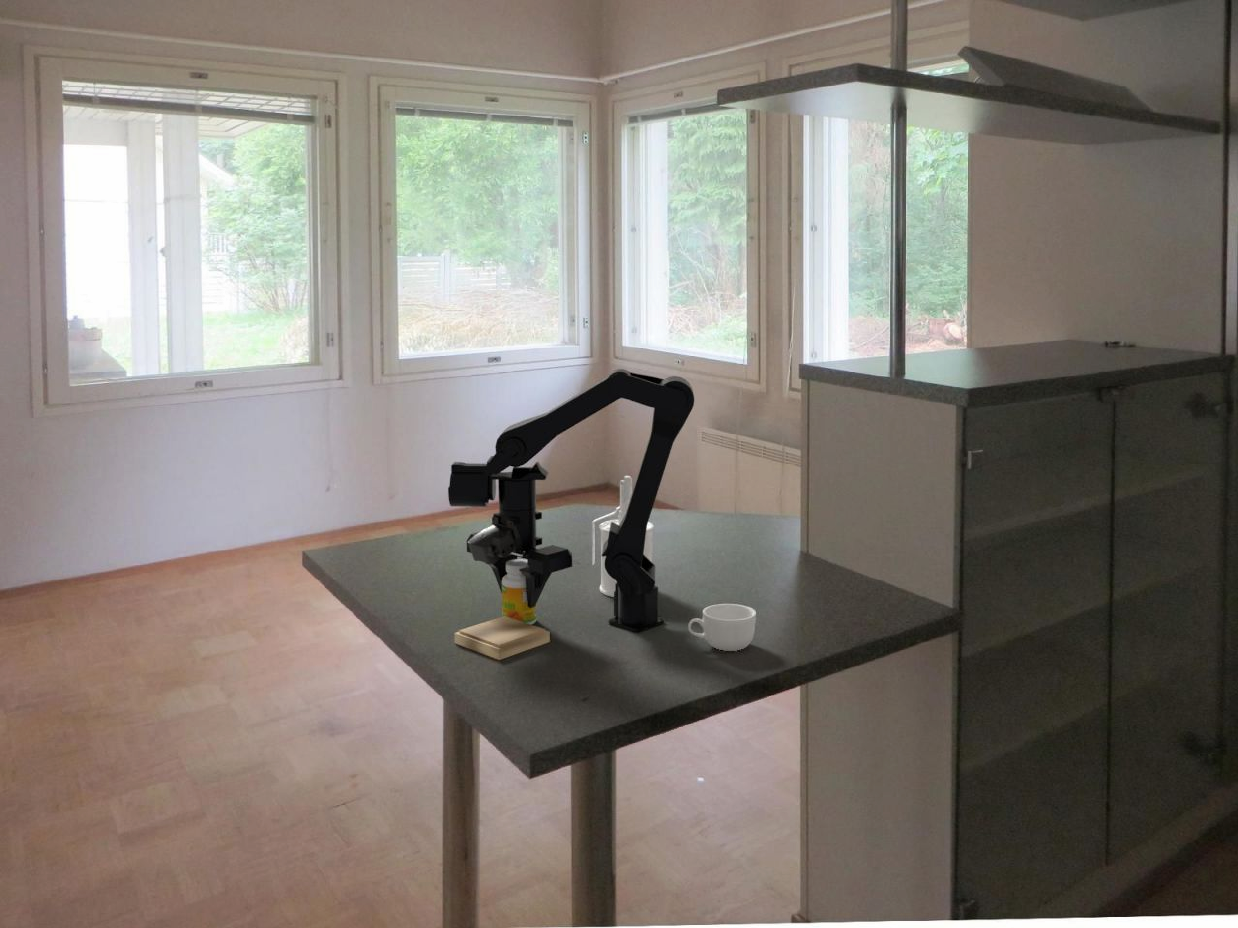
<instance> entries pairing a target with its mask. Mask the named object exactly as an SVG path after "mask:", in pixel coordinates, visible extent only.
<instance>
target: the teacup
mask: <svg viewBox="0 0 1238 928" xmlns="http://www.w3.org/2000/svg"><path fill="white" fill-rule="evenodd" d="M756 618H757V611H756V610H755V609H754V608H752V607H750V606H746V605H743V604H735V603H719V604H713V605H709V606H706V607H705V608H703V610H702V618H697V617H696V618H692V619H691V620H689V622H688V625H687V629H688V632H689V633H690V634H691V635H693V636H695V637H697V638H700V639H704V640H706V642H707V643H709V646H711V647H712V648H714V649H715V648H716V649H715V650H717V649H719V650H718V651H720V650H724V651H723V652H725V651H735V652H738V651H737V650H740V651H742V650H743V649H745V648H747V647H748V646H749V645H750V643H752V640H753V638H754V635H755V629H756ZM696 622H697V623H698V624H699V625H700V626H701V627H702V629H703V632H702V633H699V632H694V630H692V624H694V623H696ZM741 649H742V650H741Z"/></svg>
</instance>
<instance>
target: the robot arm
mask: <svg viewBox="0 0 1238 928" xmlns="http://www.w3.org/2000/svg"><path fill="white" fill-rule="evenodd" d="M620 399H624V400H628V401H631V402H634V403H635V404H636V403H637V404H640V405H642V406H646V407H649V408H652V409H653V412H652V413H653V415H652V421H651V422H652V424H651V431H650V435H649V439H648V440H647V444H646V448H645V451H644V453H643V457H642V461H641V463H640V467H639V469H638V474H637V477H636V480H635V482H634V484H633V485H634V486H633V488H632V495H631V498H630V501H629V504H628V508H627V511H626V514H625V516H624V518H623V519H622V521H621V523H620V524H619V525H617V524H615V523H613V522H611V525H610V530H609V537H608V539H607V541H606V542H605V543H604V546H603V551H602V556H603V557H604V556H606V557H605V564H604V565H605V569H606V571H607V573H608V575H610V576H611V577H612V578H613V579H615V580H616V581H617V583H615V591H614V597H613V616H614V617H612V618H609V619H608V624H611V625H614V626H616V627H621V628H624V629H627V630H631V631H632V632H638V633H639V632H643V631H645V630H648V629H650V628H653V627H656V626H658V625H661V624H664V623H665V618H663V617H660V616H659V586H656V565H655V563H653V561H652V562H651V561H650V560H649V559H648V558H647V557H646V556H645V555H644V554H643V553H644V545H645V537H646V528H647V524H648V522H650V517H651V513H652V510H653V508H654V504H655V501H656V498H657V495H658V492H659V489H660V486H661V483H662V479H663V476H664V473H665V470H666V467H667V463H668V460H669V457H670V454H671V450H672V449H673V448H672V447H673V445H674V442H675V440H676V439H677V437H678V435H679V434H680V432H681V430H682V428H683V427H684V426H685V424H686V421H687V420H688V418H689V416H690V414H691V412H692V410H693V408H694V405H695V395H694V390H693V387H692V385H691V383H690V382H689V381H688V380H687V379H685V378H683V377H681V376H677V375H672V376H668V377H666V378H661V377H657V376H652V375H647V374H641V373H636V372H631V371H628V370H626V369H623V368H617V369H615V370H613V371H611V372H610V374H608V376H606V377H604V378H603V379H601V380H599V381H598V382H595V383H594V384H592V385H590V386H589V387H588V388H587V387H586V389H584V390H582V391H580V392H578V393H577V394H576V395H574V396H572V397H571V398H568V400H566V401H564V402H562V403H561V404H559V405H557V406H555V407H553V408H552V409H550V410H549V411H547V412H545V413H542V414H539V415H536V416H533V417H532V416H531V417H529V418H526V419H524V420H521V421H519V422H516V423H513V424H511V425H509V426H508V427H507V428H505V429H504V430H503V431H502V432H501V434H500V435H499V436H498V438H497V439H496V443H495V447H494V448H495V453H494V455H492V456H490V457H489V458H488V460H487V461H486V463H469V462H468V463H466V462H463V461H462V462H461V461H454V462H453V463H452V464H451V465H450V472H451V473H450V475H449V476H450V477H449V485H448V487H447V495H448V496H447V497H448V503H449V506H450V507H467V508H468V507H470V508H471V507H474V508H475V507H478V508H479V507H480V508H481V507H482V508H486V507H488V506H489V503H490V501H495V500H496V496H497V495H496V493H497V484H498V512H495V513H493V515H492V517H491V526H488V527H486V528H484V529H483V530H481V531H478V532H473V533H470V535H469V536H468V538H467V539H466V552H467V553H470V554H471V555H472V558H473V560H474V561H475V562H478V561H479V562H483V563H484V564H485V565H488V566H489V567H490V568H491V570H492V572H493V574H494V577H495V579H496V580H495V581H496V582H497V585H498V587H499V590H500V593H501V594H502V578H503V577H504V576H505V575H507V572H506V562H507V561H509V560H514V559H518V557H519V558H520V559H525V560H527V565H528V567H525V568H522V569H519V571H520V572H521V573H522V574H523V575H524V576H525V578H526V591H527V602H528V607H529V608H533V607H535V605H536V606H537V603H538V601H539V599H540V597H541V595H542V592H543V590H544V588H545V586H546V584H547V582H548V580H549V579H550V576H552V573H555V572H558V571H559V572H560V571H562V570H566V569H570V568H572V567H573V553H572V552H571V551H570V550H569V549H568V548H564V547H561V546H558V545H553V544H552V545H549V546H545V547H541V548H537V546H540V545H543V538H542V537H540V536H537V521H538V520H542V519H543V518H542V517H543V512H542V511H538V510H537V497H536V496H537V490H536V489H537V488H536V485H537V484H536V481H545V480H546V479H547V477H548V475H549V471H548V470H546V469H545V468H544V467H542V466H541V464H540V462H539V461H535V463H534V464H533V465H532V466H529V467H528V466H525V465H526V464H527V463H528V462H529V461H530V460H532V459H533V458H534V457H535V456H537V455H538V454H539V453H540V452H541V451H542V450H543V449H544V448H546V446H548V444H550V442H552V441H553V440H554V439H555V438H556V437H557V436H559V435H561V434H563V433H564V432H566V431H568V430H570V429H571V428H573V427H574V426H576V425H577V424H579V423H581V422H583V421H584V420H586V419H588V418H589V417H591V416H592V415H595V414H596V413H598V412H600V411H601V410H603V409H604V408H606V407H608V406H610V405H611V404H613V403H615V402H616V401H618V400H620ZM509 467H512V471H506V472H503V471H505V470H506V469H507V468H509ZM497 480H498V481H497ZM497 482H498V483H497Z"/></svg>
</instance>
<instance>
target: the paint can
mask: <svg viewBox="0 0 1238 928" xmlns="http://www.w3.org/2000/svg"><path fill="white" fill-rule="evenodd" d="M632 492H633V478H632V477H631V476H630V475H624V476H623V479H621V480H620V481H619V506H618V507H616V508H615V511H613V512H611V513H608V514H605V515H603V516H600V517H599V518H598V517H597V518H595V519H594V520H593V521H592V522H591V546H592V547H591V554H592V555H591V558H592V559H591V562H592V566H594V564H595V561H596V560H595V556H596V555H595V550H596V549H595V544H596V543H595V538H596V537H595V535H596V534H595V533H596V532H595V524H596V523H597V522H599V521H602V520H604V519H607V518H609V517H612V516H615V515H616V514H618V515H617V518H616V519H610V520H607V521H604V522H602V523H600V524H599V525H598V526H599V530H600V556H601V557H600V565H601V566H600V580H601V581H600V585H599V591H600V593H601V594H603V595H605V596H607V597H611V598H614V591H615V583H617V581H616V580H615V579H613V578H612V577H611V576H610V575H608V573H607V571H606V569H605V565H604V564H605V557H606V556H604V557H603V556H602V551H603V546H604V543H605V542H606V541H607V539H608V537H609V530H610V525H611V522H613V523H615V524H617V525H619V524H620V523H621V521H622V519H623V518H624V516H625V514H626V511H627V508H628V504H629V501H630V498H631V495H632ZM618 510H619V511H618ZM654 529H655V526H654V524H653V523H652V522H650V521H648V524H647V528H646V537H645V545H644V553H643V554H644V555H645V556H646V557H647V558H648V559H649V560H650V561H651V562H652V563H653V531H654Z"/></svg>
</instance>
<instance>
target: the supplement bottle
mask: <svg viewBox="0 0 1238 928" xmlns="http://www.w3.org/2000/svg"><path fill="white" fill-rule="evenodd" d="M525 567H528V565H527V559H524V558H517V559H514V560H509V561H507V562H506V572H507V575H505V576H504V577H503V578H502V593H501V608H502V609H501V611H502V613H501V617H502V616H507V617H510V618H513V619H516V620H519V621H522V622H525V623H528V624H531V625H533V624H535V623H536V622H537V619H538V618H537V615H538V614H537V610H538V609H537V604H536V605H535V607H533V608H529V607H528V602H527V591H526V578H525V576H524V575H523V574H522V573H521V572H520V571H519V569H522V568H525Z"/></svg>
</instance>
